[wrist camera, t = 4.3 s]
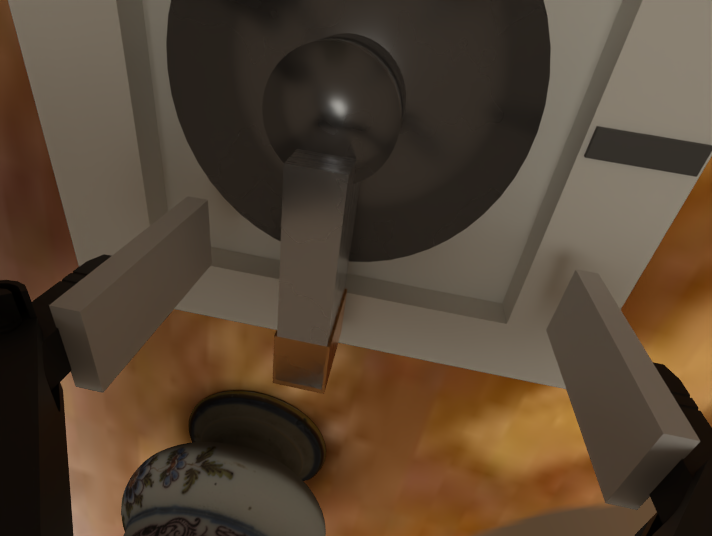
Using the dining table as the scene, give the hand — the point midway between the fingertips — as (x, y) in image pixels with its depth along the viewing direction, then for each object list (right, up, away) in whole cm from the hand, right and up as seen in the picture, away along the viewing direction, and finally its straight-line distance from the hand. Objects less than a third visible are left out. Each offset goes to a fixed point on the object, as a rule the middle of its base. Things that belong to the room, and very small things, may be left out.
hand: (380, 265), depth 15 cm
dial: (-1, +5, +1) cm, 5 cm away
